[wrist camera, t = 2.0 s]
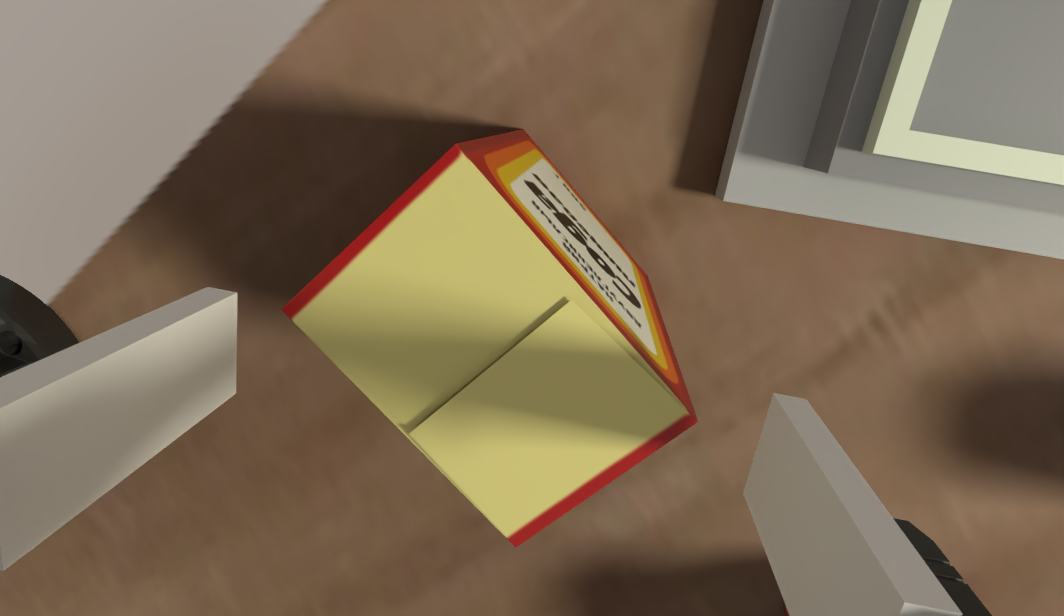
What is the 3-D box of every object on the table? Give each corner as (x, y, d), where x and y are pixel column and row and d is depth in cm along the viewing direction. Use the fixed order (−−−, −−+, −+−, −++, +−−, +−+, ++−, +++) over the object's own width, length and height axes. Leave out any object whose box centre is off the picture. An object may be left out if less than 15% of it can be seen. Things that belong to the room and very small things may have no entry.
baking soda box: (427, 217, 32) (274, 313, 16) (523, 129, 30) (452, 144, 15) (549, 353, 33) (514, 556, 18) (647, 276, 31) (700, 428, 16)
